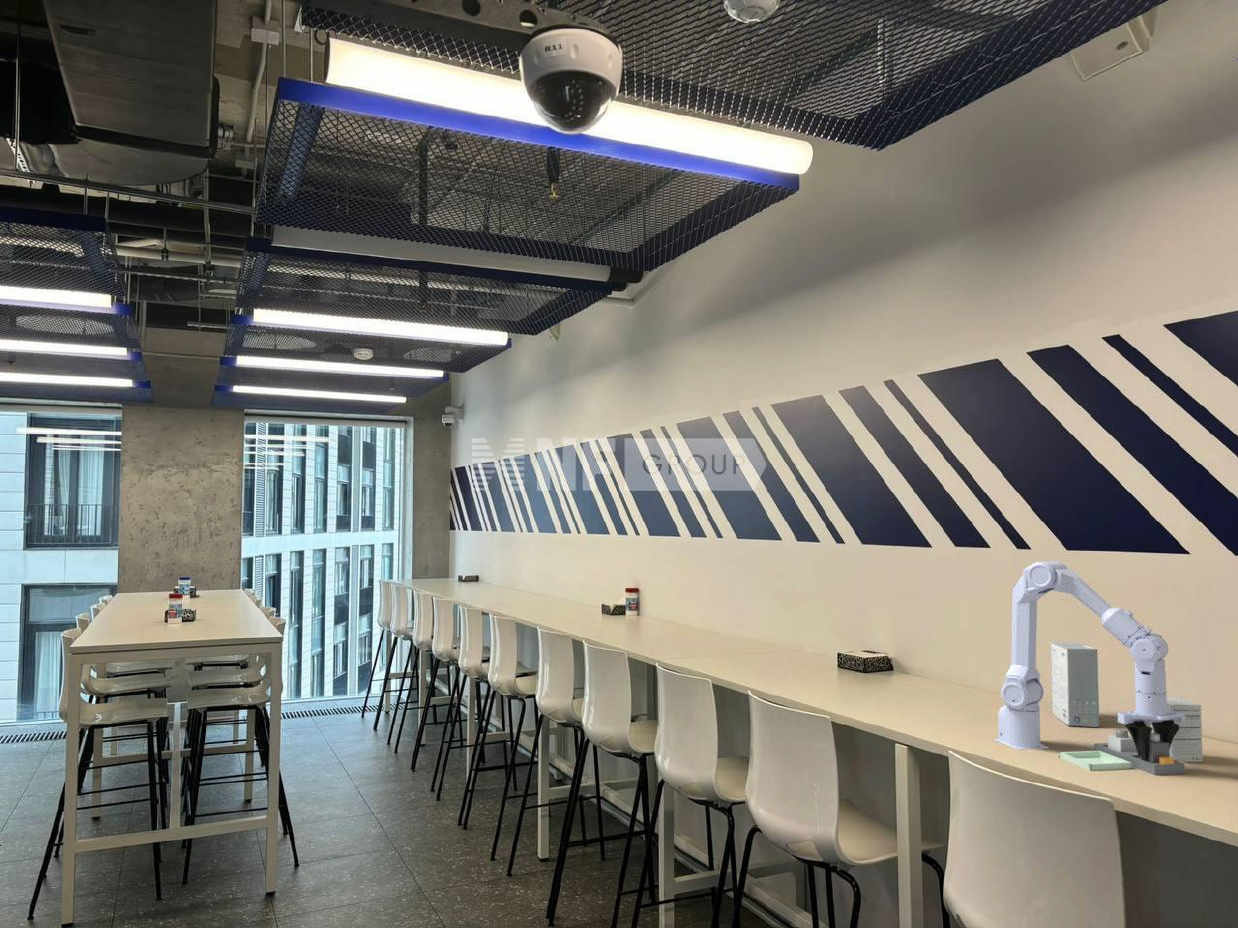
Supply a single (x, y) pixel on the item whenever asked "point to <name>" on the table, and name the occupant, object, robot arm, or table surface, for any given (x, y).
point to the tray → (1095, 760)
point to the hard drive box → (1075, 684)
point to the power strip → (1162, 768)
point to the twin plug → (1121, 741)
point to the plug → (1156, 749)
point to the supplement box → (1186, 731)
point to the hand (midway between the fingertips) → (1152, 757)
